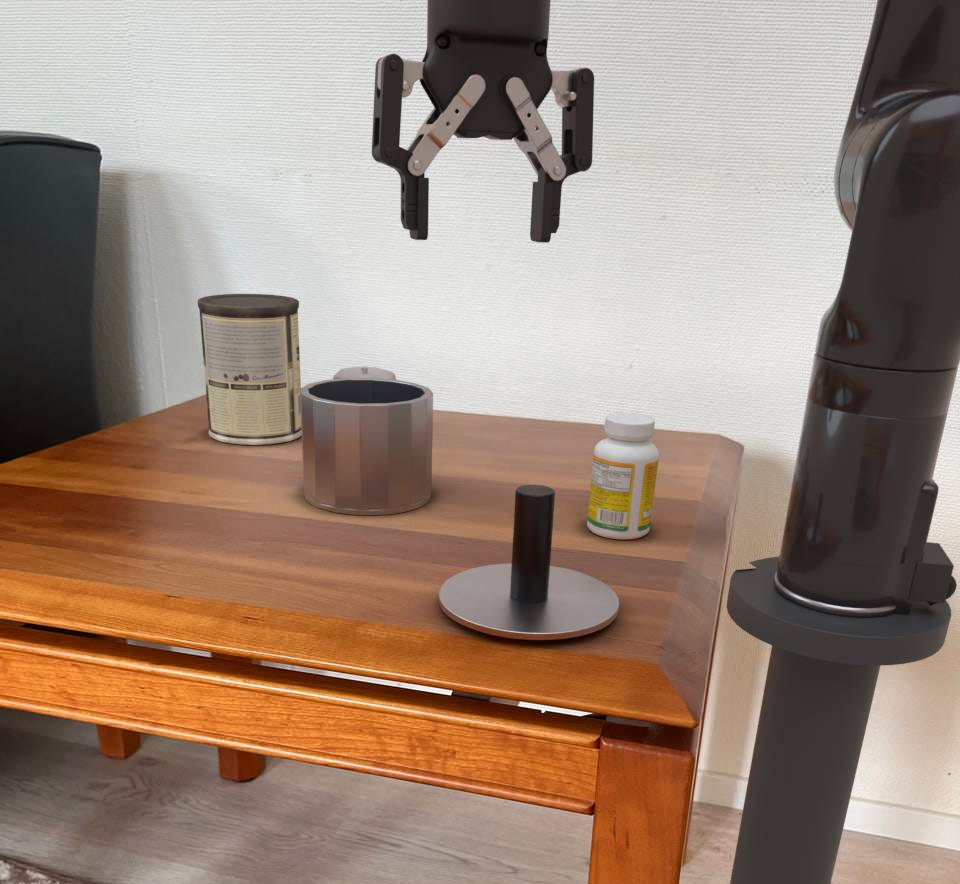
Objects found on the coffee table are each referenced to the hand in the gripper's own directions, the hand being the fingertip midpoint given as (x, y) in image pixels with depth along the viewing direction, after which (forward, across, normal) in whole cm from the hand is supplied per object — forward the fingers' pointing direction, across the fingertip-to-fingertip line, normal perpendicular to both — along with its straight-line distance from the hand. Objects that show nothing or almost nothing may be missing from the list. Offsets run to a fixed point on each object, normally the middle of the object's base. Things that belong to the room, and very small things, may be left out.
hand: (480, 240), depth 68 cm
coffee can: (+23, -11, +43) cm, 50 cm away
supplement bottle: (+23, +15, +5) cm, 28 cm away
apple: (+23, +2, +46) cm, 51 cm away
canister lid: (+23, +1, -9) cm, 24 cm away
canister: (+23, -4, +19) cm, 30 cm away
